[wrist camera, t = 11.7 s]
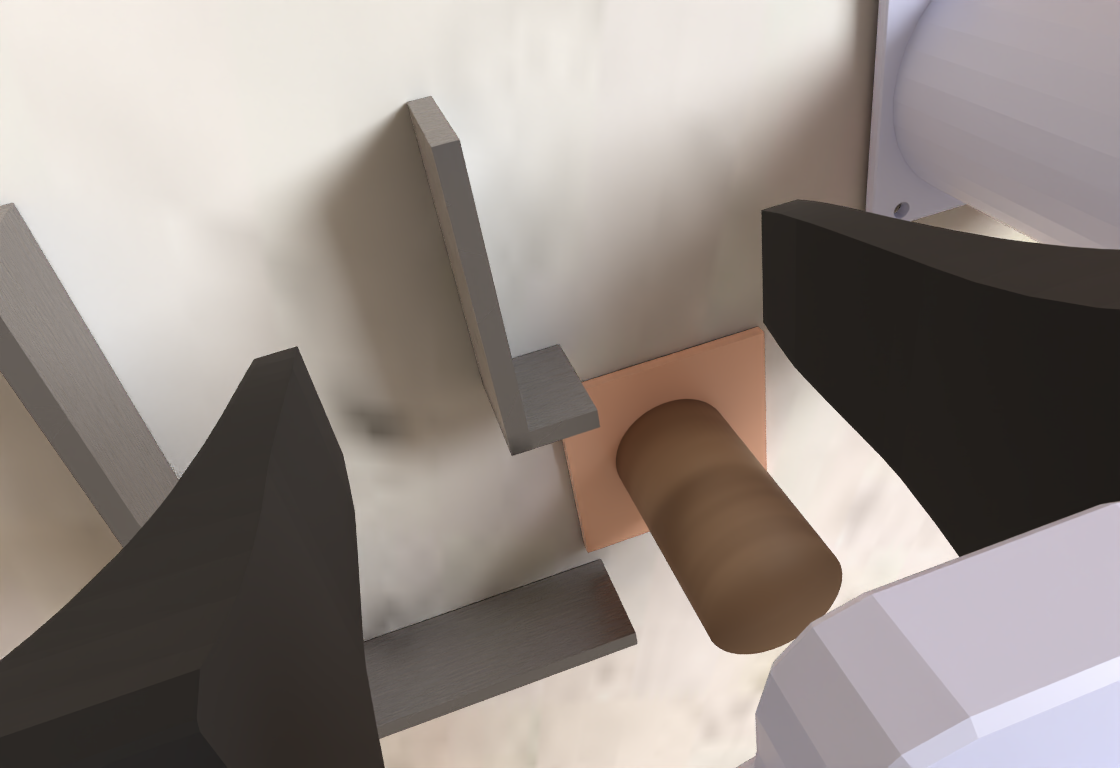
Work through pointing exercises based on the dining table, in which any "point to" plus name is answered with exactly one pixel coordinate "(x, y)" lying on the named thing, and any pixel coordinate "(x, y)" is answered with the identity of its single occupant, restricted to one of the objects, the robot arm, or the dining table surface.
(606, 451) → the coaster
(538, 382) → the rail channel
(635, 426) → the walnut peg
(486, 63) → the dining table surface
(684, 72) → the dining table surface
